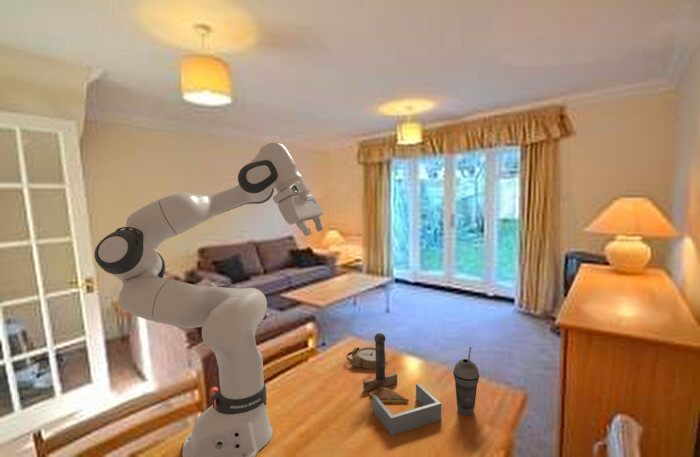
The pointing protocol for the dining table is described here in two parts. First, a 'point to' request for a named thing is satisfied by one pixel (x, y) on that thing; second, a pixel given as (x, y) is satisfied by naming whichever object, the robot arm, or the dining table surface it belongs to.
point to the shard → (388, 396)
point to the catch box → (409, 413)
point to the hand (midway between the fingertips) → (314, 232)
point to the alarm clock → (364, 357)
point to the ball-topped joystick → (380, 367)
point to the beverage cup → (466, 385)
